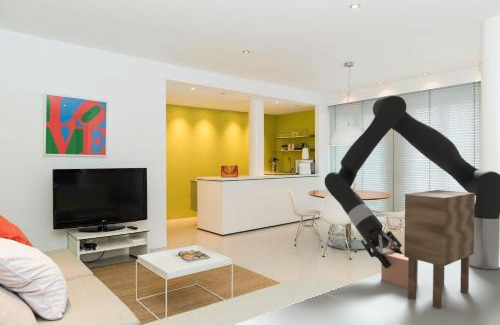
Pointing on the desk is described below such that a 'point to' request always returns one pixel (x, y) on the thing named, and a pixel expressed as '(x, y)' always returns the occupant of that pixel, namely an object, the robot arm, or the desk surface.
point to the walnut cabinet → (438, 236)
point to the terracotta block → (396, 269)
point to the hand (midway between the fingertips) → (396, 264)
